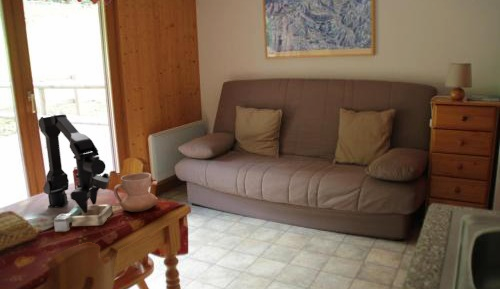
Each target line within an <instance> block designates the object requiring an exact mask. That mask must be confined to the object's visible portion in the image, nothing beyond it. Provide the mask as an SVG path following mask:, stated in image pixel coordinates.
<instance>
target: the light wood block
mask: <svg viewBox="0 0 500 289" xmlns="http://www.w3.org/2000/svg"><path fill="white" fill-rule="evenodd" d="M99 205H100V204H94V205H93V204H90V205H89V204H88V210H87V213H84V212H83V211H82V210H81V211H82V215H81V216H90V215H99V214H100V213H99Z"/></svg>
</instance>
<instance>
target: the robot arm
mask: <svg viewBox="0 0 500 289" xmlns="http://www.w3.org/2000/svg"><path fill="white" fill-rule="evenodd" d="M37 123H38V127H39V131H40V132H41V133H42V134H43V136H44V137H45V143H46V151H47V159H48V168H49V170H48V171H47V174H46V177H45V178H46V179H45V180H46V182H45V184H44V186H43V192H44V194H46V195H47V197H48V203H49V204H48V206H47V208H63V207H64V206H66V205H67V204H68V203H69V200H68V194H67V193H66V191H69V185H70V184H69V181H70V180H69V178H68V173H66V172H65V171H64V169H63V165H62V158H61V157H62V156H61V150H60V149H61V148H60V141H59V140H60V139H59V136H60V134H61V133H62V135H63V136H64V137H65V138H66V139H67V141H68V142H69V148H70V151H71V152H72V154H73V155H74V156H73V159H75V163H76V167H77V172H78V174H77V175H76V178H78V180H79V184H78V185H77V187H78V188H81V189H75V188H74V189H73V191H71V192H70V194H69V195H70V199H71V200H72V201H74V202H75V204H76V203H77V204H78V205H79V206H80V208H81V209H82V211H83V212H84V213H87V210H88V205H89V202H88V200H90V202H91V205H97V198H98V193H99V190H100V189H101V190H106V189H107V188H108V187H109V184H110V182H111V178H110V176H109V173H106V172H105V170H106V163H105V161H104V160H102V159H100V154H99V150H98V148H97V147H96V145H95V143H94V141H93V140H92V139H91V138H90V137H89V136H88V135H86V134H83V133H81V132H80V131H79V130H78V129H77V128H76V127H75V125H74V124H72V122H70V120H69V119H68V117H67V115H66V114H65V113H57V114H52V115H46V116H41V117H40V119H39V120H38V122H37ZM101 174H102V175H101Z"/></svg>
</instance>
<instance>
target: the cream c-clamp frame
mask: <svg viewBox="0 0 500 289" xmlns="http://www.w3.org/2000/svg"><path fill="white" fill-rule="evenodd" d="M98 205H99V213H100V214H99V215H90V216H82V215H77V216H72V217H71V226H72V227H87V226H88V227H89V226H103V225H104V224H105V222H106V221H107V220H108V219H109V218H110V217H111V215H112V214H113V213H114V211H113V205H112V203H110V204H98ZM108 217H109V218H108ZM107 218H108V219H107Z"/></svg>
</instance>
